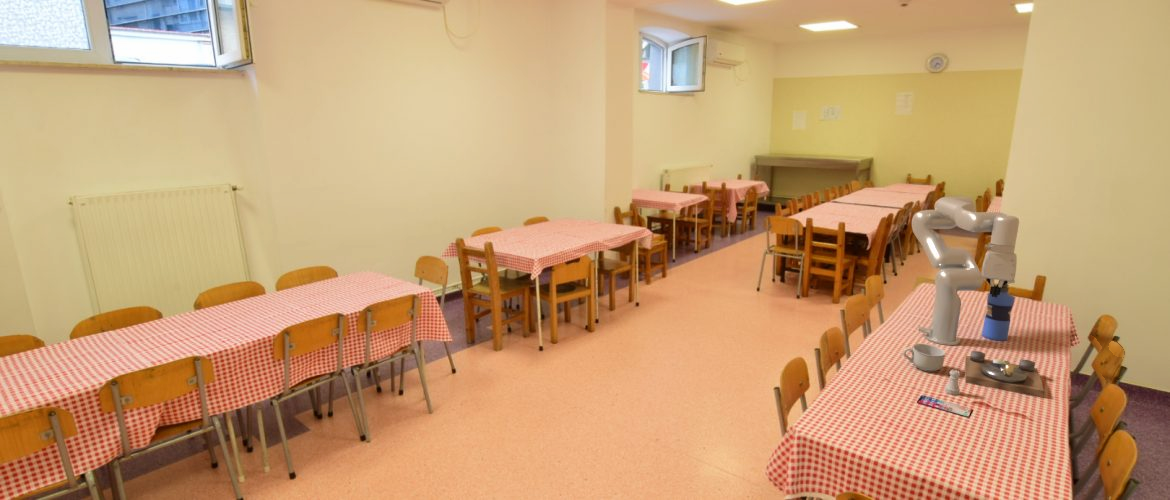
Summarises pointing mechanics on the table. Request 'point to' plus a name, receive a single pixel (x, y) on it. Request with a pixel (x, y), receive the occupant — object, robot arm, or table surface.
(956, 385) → the rook chess piece
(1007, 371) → the silver metal dome
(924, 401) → the smartphone
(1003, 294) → the water bottle
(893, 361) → the table surface
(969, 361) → the levelling base
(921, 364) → the teacup
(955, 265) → the robot arm
